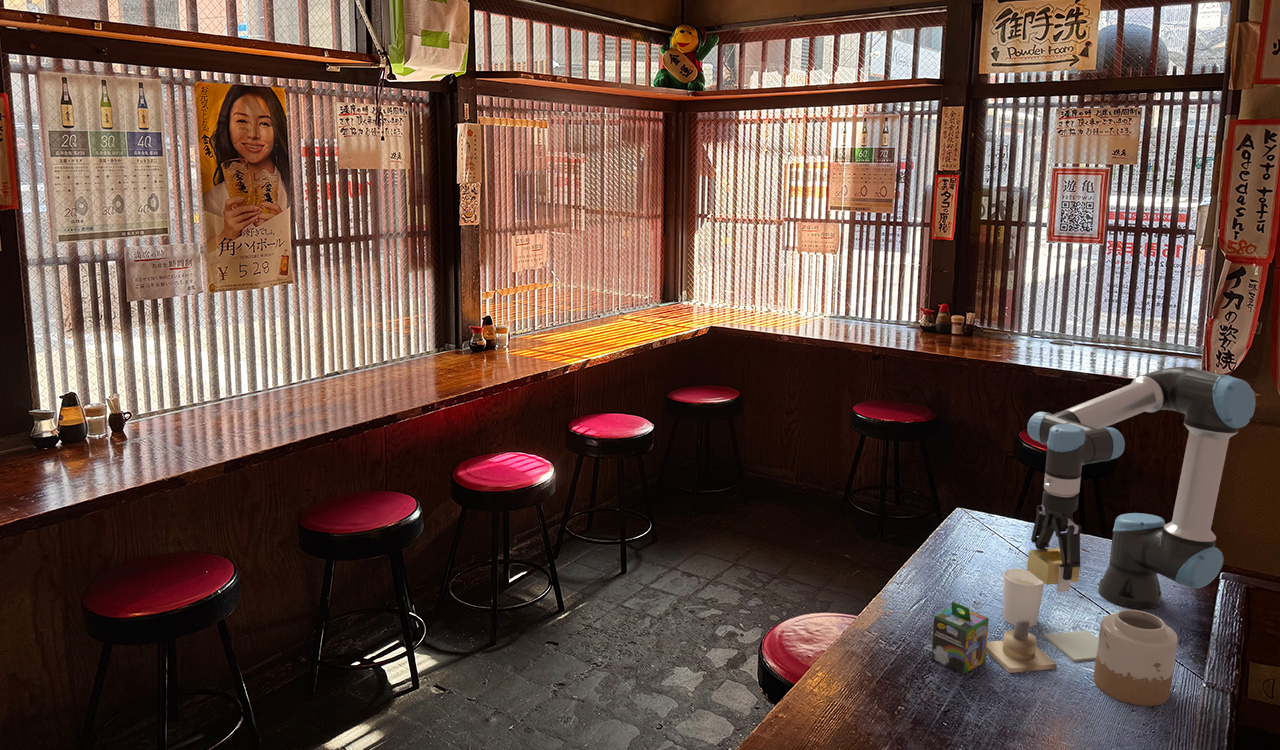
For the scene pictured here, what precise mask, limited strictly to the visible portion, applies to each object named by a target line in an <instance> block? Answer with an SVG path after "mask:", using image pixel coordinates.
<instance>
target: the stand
mask: <svg viewBox="0 0 1280 750" xmlns="http://www.w3.org/2000/svg"><path fill="white" fill-rule="evenodd" d="M1029 630H1030V627H1029V621H1028V620H1027V619H1025V618H1016V619H1015V623H1014V625H1013V629H1010V630H1006V631H1005V632H1004V633H1003V639H1002V640H994V641H987V648H986V653H987V654H989V655H990V657H992V659H994V661H996V662H997V663H998V664H999V665H1000V666H1001V667H1003V669H1004V670H1005V671H1006V672H1008V674H1012V673H1022V672H1034V671H1035V672H1036V671H1042V670H1043V671H1044V670H1045V671H1046V670H1050V669H1051V670H1053V669H1055V670H1056V669H1057V664H1058V663H1056V661H1054V660H1053V659H1052V658H1051V657H1049V656H1048V655H1047V654H1046V653H1045V652H1044V651H1043V650H1041V649H1040V648H1039V647H1038V646H1037V642H1038V641H1037V638H1036V636H1035V635H1033V634H1031V633H1029Z"/></svg>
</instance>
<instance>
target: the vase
mask: <svg viewBox="0 0 1280 750" xmlns="http://www.w3.org/2000/svg"><path fill="white" fill-rule="evenodd" d="M1178 645H1179V637H1178V635H1177V633H1176V632H1175V630H1173V628H1171V627H1170V626H1169V625H1167V624H1166V623H1165V621H1164V620H1163V619H1161V618H1160V617H1158V616H1157V615H1154V614H1152V613H1150V612H1146V611H1144V610H1140V609H1122V610H1119V611H1117V612H1116V613H1111V614H1108V615H1106V616H1104V617H1103V618H1102V619H1101V621H1100V625H1099V632H1098V646H1097V654H1096V660H1095V664H1094V671H1093V681H1094V683H1095V686H1096V687H1097V688H1098V689H1099V690H1100V691H1101V692H1103V693H1104V694H1105V695H1107V696H1109V697H1111V698H1113V699H1115V700H1117V701H1120V702H1122V703H1126V704H1130V705H1134V706H1140V707H1154V706H1155V707H1156V706H1159V705H1164V704H1165V703H1167V702H1168V701H1169V698H1170V697H1171V696H1170V695H1171V690H1172V683H1173V677H1174V670H1175V663H1176V657H1177V651H1178Z"/></svg>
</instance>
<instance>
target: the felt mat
mask: <svg viewBox="0 0 1280 750" xmlns="http://www.w3.org/2000/svg"><path fill="white" fill-rule="evenodd" d="M1043 637H1044V638H1045V639H1046V640H1047V641H1049V643H1051V645H1053V646H1054V647H1056V648H1057V649H1058V650H1059V651H1061V652H1062V653H1063V654H1064V655H1065V656H1067V657H1068V658H1069V659H1070V660H1071V661H1073V662H1074V663H1075V662H1084V661H1096V654H1097V646H1098V639H1099V637H1097V636H1095V635H1094V634H1093V633H1091V632H1090V631H1089V630H1079V631H1077V630H1076V631H1067V632H1055V633H1045V634H1044V635H1043Z"/></svg>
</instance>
